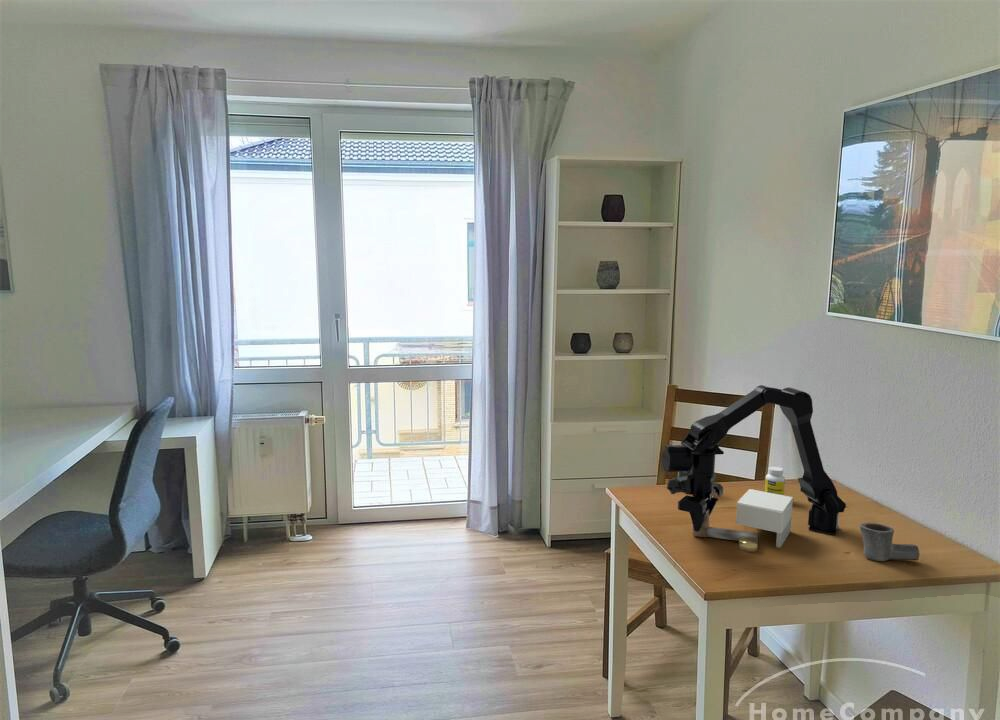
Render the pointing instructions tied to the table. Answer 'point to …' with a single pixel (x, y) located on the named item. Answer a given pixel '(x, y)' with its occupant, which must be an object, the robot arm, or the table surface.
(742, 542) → the token
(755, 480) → the table surface
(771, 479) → the supplement bottle
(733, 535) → the taupe block mallet
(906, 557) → the pipe
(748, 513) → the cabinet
